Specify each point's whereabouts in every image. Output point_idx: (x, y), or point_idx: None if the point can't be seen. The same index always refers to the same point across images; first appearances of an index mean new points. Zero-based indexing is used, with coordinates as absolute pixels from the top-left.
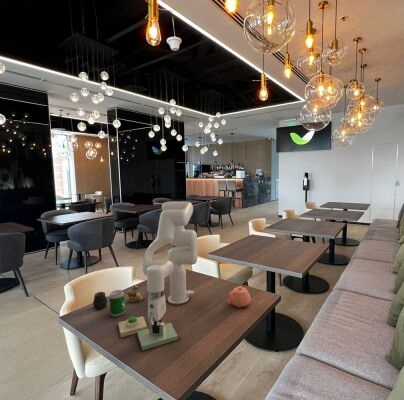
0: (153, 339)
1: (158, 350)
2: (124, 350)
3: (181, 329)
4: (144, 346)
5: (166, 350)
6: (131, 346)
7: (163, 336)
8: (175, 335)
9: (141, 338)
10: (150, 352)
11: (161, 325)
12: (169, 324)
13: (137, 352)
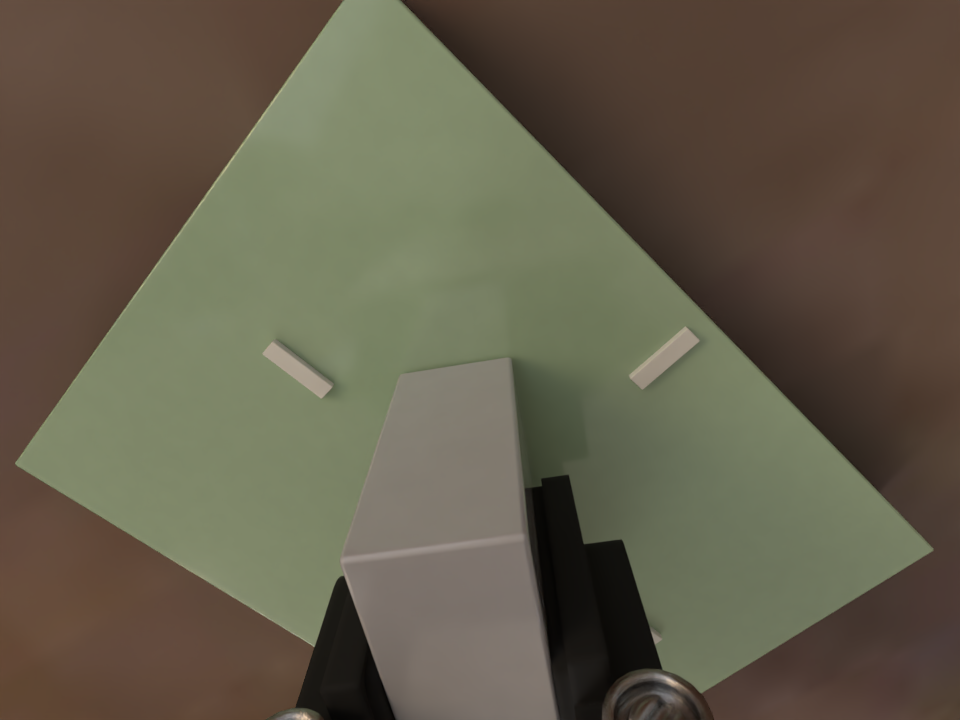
0: (692, 476)
1: (845, 236)
2: (888, 692)
3: (15, 137)
4: (898, 513)
5: (828, 60)
6: (791, 665)
7: (538, 341)
8: (393, 55)
9: (709, 663)
10: (915, 347)
11: (537, 581)
12: (89, 449)
13: (924, 532)
